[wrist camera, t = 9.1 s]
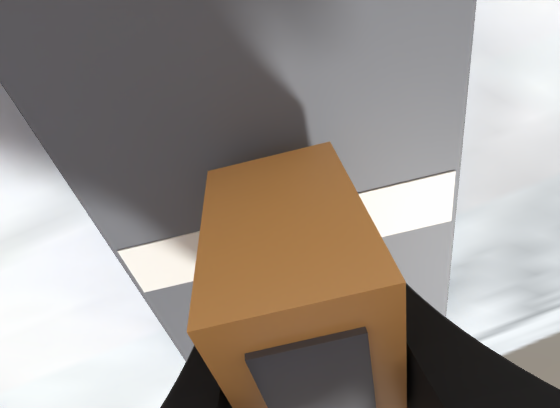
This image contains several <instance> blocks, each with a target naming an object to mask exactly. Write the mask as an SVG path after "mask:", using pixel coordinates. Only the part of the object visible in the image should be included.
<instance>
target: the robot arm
mask: <svg viewBox="0 0 560 408" xmlns="http://www.w3.org/2000/svg"><path fill="white" fill-rule="evenodd" d="M406 355H407V408H560V389H558V388H556V387H554V386H552V385H550V384H548V383H546V382H544V381H543V380H541V379H539V378H538V377H536V376H534V375H532V374H531V373H529V372H527V371H525V370H524V369H522V368H520V367H518V366H517V365H515V364H514V363H512V362H510V361H509V360H507V359H506V358H504V357H502V356H501V355H499V354H498V353H496V352H495V351H493V350H491V349H490V348H488V347H487V346H485V345H483V344H482V343H480V342H479V341H478V340H476V339H475V338H473V337H472V336H470V335H469V334H468V333H466V332H465V331H463V330H462V329H461V328H459V327H458V326H457V325H455V324H454V323H452V322H451V321H450V320H449V319H447V318H446V317H445V316H443V315H442V314H441V313H440V312H438V311H437V310H436V309H435V308H434V307H432V306H431V305H430V304H429V303H428V302H427V301H425V300H424V299H423V298H422V297H421V296H420V295H419V294H417V293H416V292H415V291H414V290H413V289H412V288H411V287H410V286H409V285H408V284H407V283H406ZM160 408H232V406H231V404H230V403H229V401H228V399H227V398H226V396H225V395H224V393H223V391H222V390H221V388H220V386H219V385H218V383H217V381H216V380H215V378H214V377H213V375H212V373H211V372H210V370H209V368H208V367H207V365H206V363H205V362H204V360H203V358H202V357H201V355H200V354H199V352H198V350H197V349H196V347H195V345H194V346H193V349H192V351H191V353H190V355H189V357H188V359H187V361H186V363H185V365H184V367H183V369H182V371H181V373H180V375H179V377H178V378H177V380H176V382H175V384H174V386H173V387H172V389H171V391H170V393H169V394H168V396H167V398H166V399H165V401H164V403H163V404H162V406H161V407H160Z"/></svg>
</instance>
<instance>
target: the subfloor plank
mask: <svg viewBox="0 0 560 408" xmlns="http://www.w3.org/2000/svg"><path fill="white" fill-rule="evenodd" d="M475 10H476V0H0V83H1V84H2V86H3V87H4V89H5V90H6V92H7V93H8V95H9V96H10V98H11V99H12V101H13V102H14V104H15V105H16V107H17V108H18V110H19V111H20V113H21V114H22V116H23V117H24V119H25V120H26V122H27V123H28V125H29V126H30V128H31V129H32V131H33V132H34V134H35V135H36V137H37V138H38V140H39V141H40V143H41V144H42V146H43V147H44V149H45V150H46V152H47V153H48V155H49V156H50V158H51V159H52V161H53V162H54V164H55V165H56V167H57V168H58V170H59V171H60V173H61V174H62V176H63V177H64V179H65V180H66V182H67V183H68V185H69V186H70V188H71V189H72V191H73V192H74V194H75V195H76V197H77V198H78V200H79V201H80V203H81V204H82V206H83V207H84V209H85V210H86V212H87V213H88V215H89V216H90V218H91V219H92V221H93V222H94V224H95V225H96V227H97V228H98V230H99V231H100V233H101V234H102V236H103V237H104V239H105V240H106V242H107V244H108V245H109V247H110V248H111V250H112V251H113V253H114V254H115V256H116V257H117V259H118V260H119V262H120V263H121V265H122V266H123V268H124V269H125V271H126V272H127V274H128V275H129V277H130V278H131V280H132V281H133V283H134V284H135V286H136V287H137V289H138V290H139V292H140V293H141V295H142V296H143V298H144V299H145V301H146V302H147V304H148V305H149V307H150V308H151V310H152V311H153V313H154V314H155V316H156V317H157V319H158V320H159V322H160V323H161V325H162V326H163V328H164V329H165V331H166V332H167V334H168V335H169V337H170V338H171V340H172V341H173V343H174V344H175V346H176V347H177V349H178V350H179V352H180V353H181V355H182V356H183V358H184V359H185V361H187V359H188V357H189V355H190V353H191V351H192V349H193V346H194V344H193V342H192V340H191V339H190V337H189V335H188V334H187V325H188V318H189V310H190V302H191V295H192V287H193V279H194V272H195V264H196V256H197V249H198V241H199V234H200V226H201V218H202V211H203V203H204V195H205V188H206V180H207V172H208V171H210V170H214V169H218V168H223V167H227V166H231V165H235V164H239V163H243V162H247V161H251V160H255V159H260V158H264V157H268V156H272V155H276V154H280V153H284V152H288V151H293V150H297V149H301V148H305V147H309V146H313V145H317V144H321V143H325V142H331V144H332V146H333V148H334V150H335V152H336V154H337V155H338V157H339V159H340V161H341V163H342V165H343V167H344V168H345V170H346V172H347V174H348V176H349V178H350V180H351V181H352V183H353V185H354V187H355V189H356V191H357V192H358V194H359V196H360V198H361V200H362V202H363V204H364V205H365V207H366V209H367V211H368V213H369V215H370V217H371V218H372V220H373V222H374V224H375V226H376V228H377V230H378V231H379V233H380V235H381V237H382V239H383V241H384V243H385V244H386V246H387V248H388V250H389V252H390V254H391V256H392V257H393V259H394V261H395V263H396V265H397V267H398V269H399V270H400V272H401V274H402V276H403V278H404V280H405V281H406V283H407V284H408V285H409V286H410V287H411V288H412V289H413V290H414V291H415V292H416V293H417V294H419V295H420V296H421V297H422V298H423V299H424V300H425V301H427V302H428V303H429V304H430V305H431V306H432V307H434V308H435V309H436V310H437V311H438V312H440V313H441V314H442V315H443V316H446V311H447V300H448V290H449V280H450V269H451V259H452V248H453V238H454V228H455V217H456V207H457V197H458V186H459V176H460V166H461V155H462V145H463V135H464V124H465V114H466V104H467V93H468V83H469V73H470V62H471V52H472V41H473V31H474V21H475Z"/></svg>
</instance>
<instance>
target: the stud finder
mask: <svg viewBox="0 0 560 408" xmlns="http://www.w3.org/2000/svg"><path fill="white" fill-rule="evenodd" d="M187 334H188V335H189V337H190V339H191V340H192V342H193V344H194V345H195V347H196V349H197V350H198V352H199V354H200V355H201V357H202V358H203V360H204V362H205V363H206V365H207V367H208V368H209V370H210V372H211V373H212V375H213V377H214V378H215V380H216V381H217V383H218V385H219V386H220V388H221V390H222V391H223V393H224V395H225V396H226V398H227V399H228V401H229V403H230V404H231V406H232V408H407V355H406V281H405V280H404V278H403V276H402V274H401V272H400V270H399V269H398V267H397V265H396V263H395V261H394V259H393V257H392V256H391V254H390V252H389V250H388V248H387V246H386V244H385V243H384V241H383V239H382V237H381V235H380V233H379V231H378V230H377V228H376V226H375V224H374V222H373V220H372V218H371V217H370V215H369V213H368V211H367V209H366V207H365V205H364V204H363V202H362V200H361V198H360V196H359V194H358V192H357V191H356V189H355V187H354V185H353V183H352V181H351V180H350V178H349V176H348V174H347V172H346V170H345V168H344V167H343V165H342V163H341V161H340V159H339V157H338V155H337V154H336V152H335V150H334V148H333V146H332V144H331V142H325V143H321V144H317V145H313V146H309V147H305V148H301V149H297V150H293V151H288V152H284V153H280V154H276V155H272V156H268V157H264V158H260V159H255V160H251V161H247V162H243V163H239V164H235V165H231V166H227V167H223V168H218V169H214V170H210V171H208V172H207V180H206V188H205V195H204V203H203V211H202V218H201V226H200V234H199V241H198V249H197V256H196V264H195V272H194V279H193V287H192V295H191V302H190V310H189V318H188V325H187Z"/></svg>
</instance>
